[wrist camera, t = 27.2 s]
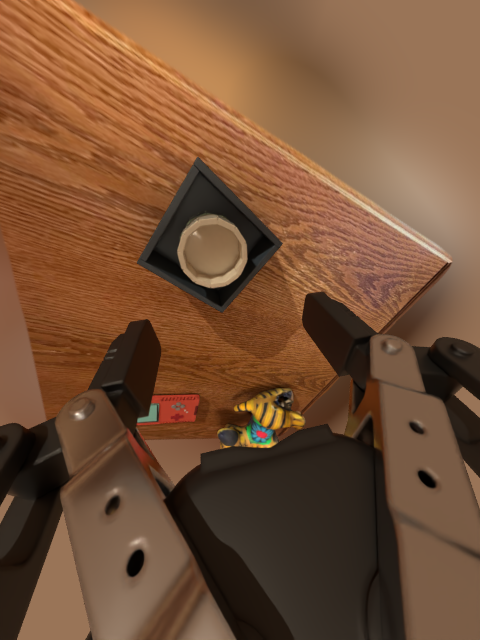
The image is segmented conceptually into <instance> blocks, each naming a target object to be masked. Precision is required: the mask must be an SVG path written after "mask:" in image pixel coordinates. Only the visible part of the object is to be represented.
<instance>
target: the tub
mask: <svg viewBox="0 0 480 640" xmlns="http://www.w3.org/2000/svg"><path fill="white" fill-rule="evenodd" d="M206 210H208V211H215V212H218V213H221V214H223V215H224V216H226V217H227V218H228V219H229V220H230V221H231V222H232V223H233V224H234V225H235V226H236V227H237V228H238V230H239V232H240V233H241V235H242V236H243V238H244V239H245V241H246V244H247V260H246V261H247V263H246V265H245V267H244V269H243V271H242V273H241V275H239V277H238V278H237V279H236V280H234V281H233V282H231V283H230V284H229V285H226V286H223V287H216V288H211V287H210V288H208V287H205V286H202V285H199V284H196V283H195V282H193V281H192V280H191V279H190V278H189V277H188V276H187V275H186V274H185V273H184V272H183V269H181V265H180V261H179V258H178V254H177V252H178V251H177V250H178V246H179V242H180V234H181V230H182V228H183V227H184V225H185V223H186V222H187V220H188V219H189V218H190V217H191V216H193V215H194V214H196V213H198V212H201V211H206ZM282 244H283V243H282V242H281V241H280V240H279V239H278V238H277V237H276V236H275V235H274V234H273V233H272V232H271V231H270V230H269V229H268V228H267V227H266V226H265V225H264V224H263V223H262V222H261V221H260V220H259V219H258V218H257V217H256V216H255V215H254V213H253V212H252V211H251V210H250V209H249V208H248V207H247V206H246V205H245V204H244V203H243V202H242V201H241V200H240V199H239V198H238V197H237V196H236V195H235V194H234V193H233V192H232V191H231V190H230V189H229V188H228V187H227V186H226V185H225V184H224V183H223V182H222V181H221V180H220V179H219V178H218V177H217V176H216V175H215V174H214V173H213V172H212V171H211V170H210V169H209V168H208V167H207V166H206V164H205V163H204V162H203V161H202V160H201V159H200V158H199V157H197V158H196V160H195V162H194V165H192V167H191V169H190V171H189V172H188V174H187V176H186V178H185V179H184V181H183V183H182V185H181V186H180V188H179V190H178V192H177V193H176V195H175V197H174V199H173V200H172V202H171V204H170V206H169V207H168V209H167V211H166V213H165V214H164V216H163V218H162V220H161V221H160V223H159V225H158V227H157V228H156V230H155V232H154V233H153V235H152V237H151V239H150V240H149V242H148V244H147V246H146V247H145V249H144V251H143V253H142V254H141V256H140V258H139V260H138V261H137V264H139V265H141V266H142V267H144V268H146V269H148V270H149V271H151V272H153V273H154V274H156V275H158V276H160V277H161V278H163V279H165V280H167V281H168V282H170V283H172V284H173V285H175V286H177V287H179V288H180V289H182V290H184V291H185V292H187V293H189V294H191V295H192V296H194V297H196V298H197V299H199V300H201V301H203V302H204V303H206V304H208V305H210V306H211V307H213V308H215V309H216V310H218V311H220V312H222V313H223V311H224V310H225V309H226V308H227V307H228V306H229V305H230V304H231V302H232V301H233V300H234V299H235V298H236V297H237V296H238V294H239V293H240V292H241V291H242V290H243V289H244V288H245V286H246V285H247V284H248V283H249V282H250V281H251V280H252V278H253V277H254V276H255V275H256V274H257V273H258V272H259V270H260V269H261V268H262V267H263V266H264V265H265V264H266V263H267V261H268V260H269V259H270V258H271V257H272V256H273V255H274V253H275V252H276V251H277V250H278V249H279V248H280V246H281V245H282Z"/></svg>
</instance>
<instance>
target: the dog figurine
mask: <svg viewBox="0 0 480 640" xmlns="http://www.w3.org/2000/svg"><path fill="white" fill-rule="evenodd" d="M293 402H294V397H293V392H292V390H291V389H290V388H275V389H271V390H267V391H263V392H260V393H259V394H258V395H256V396H255V397H254V398H252V399H250V400H248V401H247V402H243V403H241V404H239V405H236V406H235V407H234V411H236V412H237V411H248V412H251V413H252V415H251V419H250V421H249V423H248V424H247V425H245V426H243V427H241V426H237V425H232V424H227V425H226V426H225V428H222V429H220V430H219V431H218V433H217V435H218V438H219V439H220V447H221V449H223V448H227V447H231V446H241V447H258V448H269V447H272V446H273V445H275V444H277V443H278V442H279V440H278V437H277V436H276V433H275V430H276V429H279V428H284V427H294V428H295V429H297V430H300V429H302V428H303V426H304V425H305V419H304V417H303V416H302V415H301V413H300V412H299V411H295V412H294V411H292V410H291V405H292V403H293Z"/></svg>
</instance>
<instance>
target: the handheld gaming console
mask: <svg viewBox="0 0 480 640" xmlns="http://www.w3.org/2000/svg"><path fill="white" fill-rule="evenodd" d="M198 404H199V395H155V396H153V397H152V402H151V407H150V412H149V416H147V417H143V418H138V421H137V425H148V424H161V422H162V423H163V424H164V423H165V422H166V423H168V422H169V423H171V422H172V423H174V421H175V422H176V423H177V421H178V422H181V421H182V422H184V421H185V422H187V421H188V422H190V421H191V422H193V421H195V417H196V413H197V409H198Z"/></svg>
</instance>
